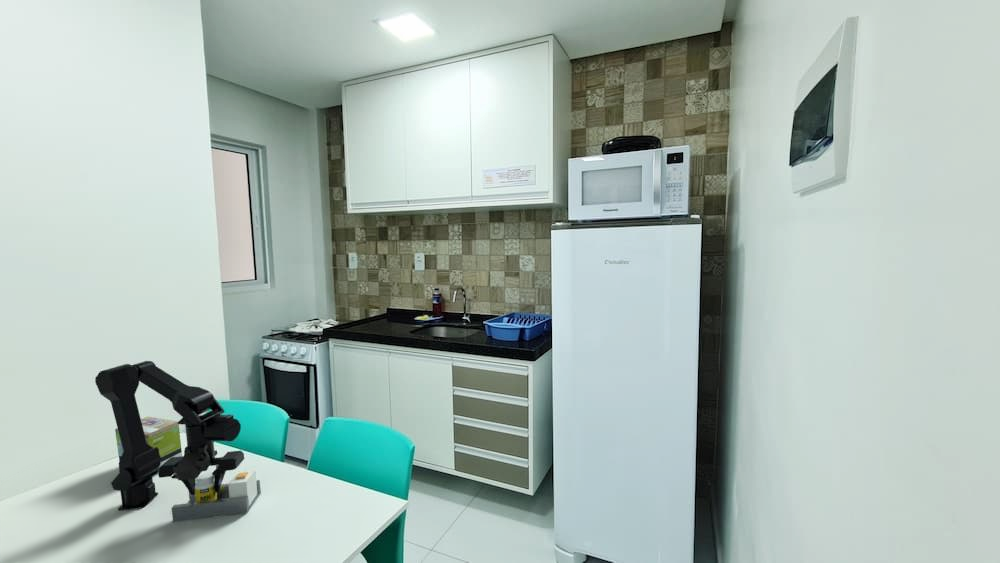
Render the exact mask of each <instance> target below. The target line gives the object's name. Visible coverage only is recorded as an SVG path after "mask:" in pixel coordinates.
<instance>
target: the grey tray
mask: <svg viewBox="0 0 1000 563" xmlns="http://www.w3.org/2000/svg"><path fill="white" fill-rule="evenodd" d="M256 481H257V492H258V493H257V494H256V496H255V497H254V499H253V500H252V502H251V503H250V505H249V499H248V496H245V497H236V498H230V497H229V487H228V483H223V484H222V483H221V486H220V489H219V491H218V492H217V500H211V501H203V502H196V499H195V494H194V495H191V493H190V492H189V490H188V489H187V491H188V498H189V500H188V501H187V502H185V503H179V504H173V506H171V515H172V523H176V522H185V521H186V520H187V521H192V520H202V519H209V518H218V517H223V516H224V517H225V516H226V517H227V516H232V515H240V514H248V513H249V512H250V509H251V508H252V507H253V505H255V502H256V501H257V499H258V498H259V497H260V495H261V493H262V489H261V481H260V479H256Z"/></svg>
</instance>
